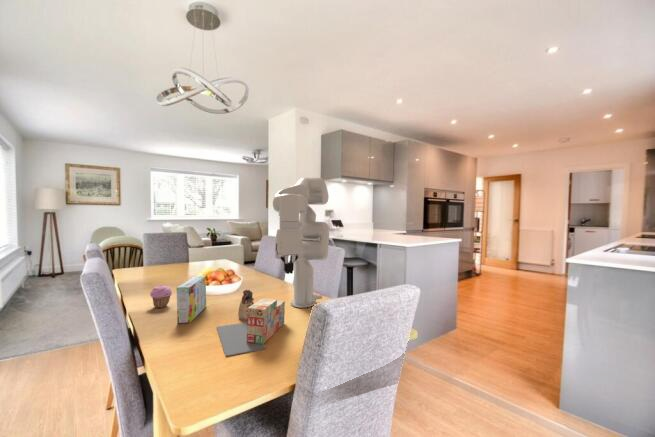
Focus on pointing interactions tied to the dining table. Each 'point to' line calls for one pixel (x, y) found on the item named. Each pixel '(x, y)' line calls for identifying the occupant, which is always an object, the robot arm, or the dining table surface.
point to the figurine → (245, 304)
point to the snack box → (191, 299)
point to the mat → (236, 339)
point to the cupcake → (161, 296)
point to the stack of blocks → (264, 319)
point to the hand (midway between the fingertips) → (288, 272)
